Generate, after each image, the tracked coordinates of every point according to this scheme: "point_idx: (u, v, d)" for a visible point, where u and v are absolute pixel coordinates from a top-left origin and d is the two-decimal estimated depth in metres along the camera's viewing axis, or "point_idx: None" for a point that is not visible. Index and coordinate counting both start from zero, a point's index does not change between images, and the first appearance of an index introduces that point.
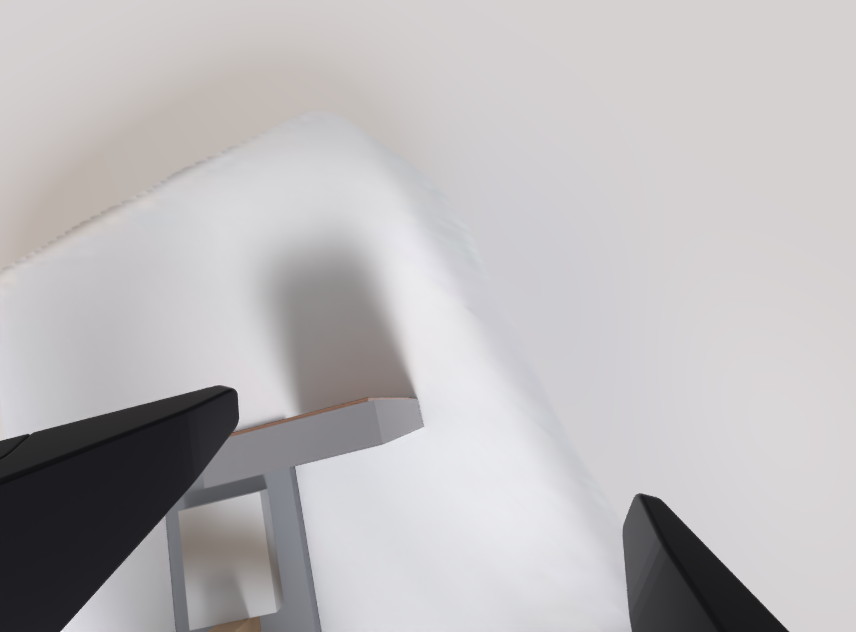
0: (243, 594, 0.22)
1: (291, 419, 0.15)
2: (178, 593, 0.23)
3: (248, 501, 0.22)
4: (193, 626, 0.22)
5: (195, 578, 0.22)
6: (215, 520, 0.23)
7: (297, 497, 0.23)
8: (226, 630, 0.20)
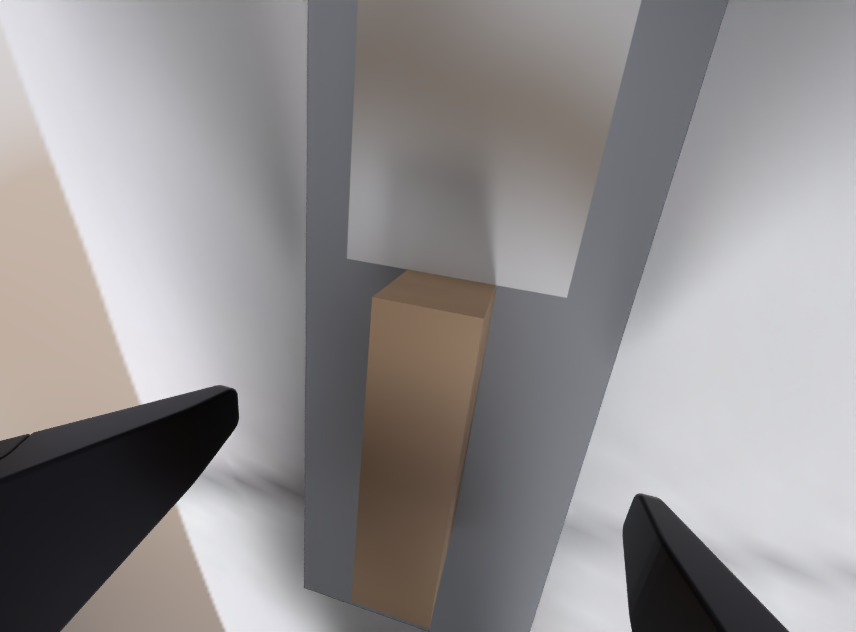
0: (495, 230, 0.08)
1: None
2: (320, 177, 0.10)
3: None
4: (357, 253, 0.09)
5: (379, 150, 0.09)
6: None
7: (711, 33, 0.08)
8: (456, 291, 0.08)
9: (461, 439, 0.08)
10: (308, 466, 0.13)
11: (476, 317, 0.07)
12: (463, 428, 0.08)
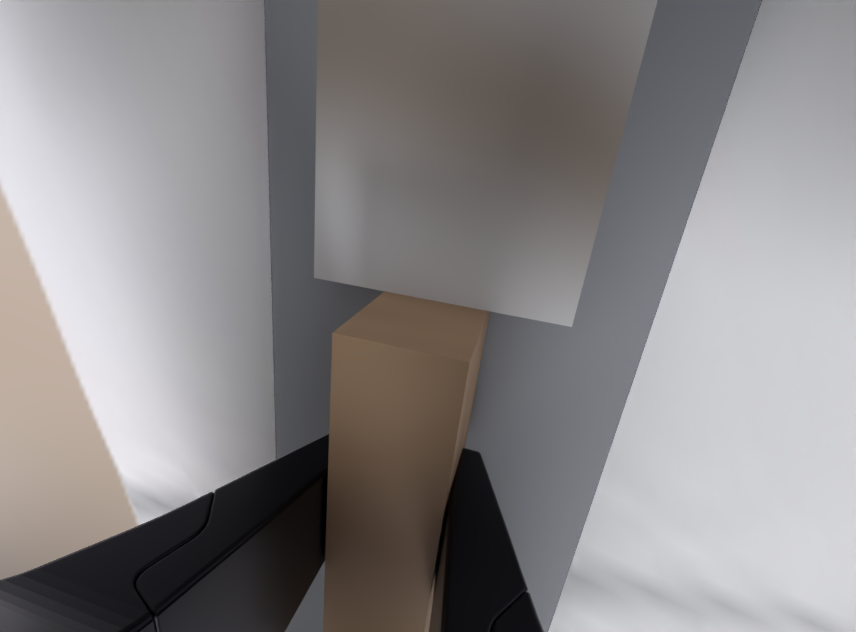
0: (487, 247, 0.07)
1: None
2: (284, 182, 0.09)
3: None
4: (325, 272, 0.08)
5: (348, 150, 0.07)
6: None
7: (749, 9, 0.06)
8: (439, 320, 0.07)
9: (444, 503, 0.06)
10: None
11: (460, 359, 0.06)
12: (446, 490, 0.06)
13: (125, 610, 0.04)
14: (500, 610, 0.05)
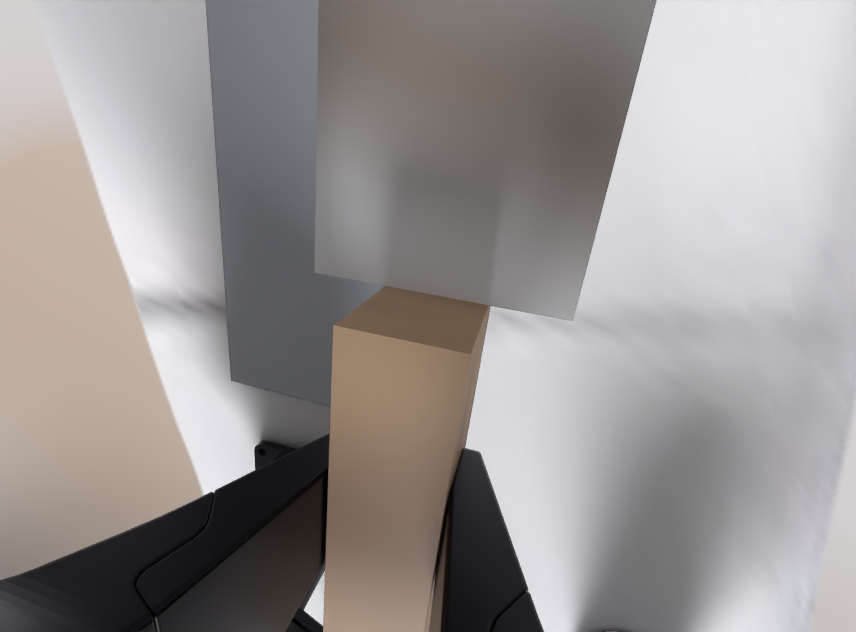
0: (488, 241, 0.07)
1: None
2: (218, 71, 0.17)
3: None
4: (326, 267, 0.08)
5: (349, 145, 0.07)
6: None
7: None
8: (440, 314, 0.07)
9: (445, 496, 0.06)
10: (226, 278, 0.20)
11: (461, 352, 0.05)
12: (447, 483, 0.06)
13: (125, 610, 0.04)
14: (500, 610, 0.05)
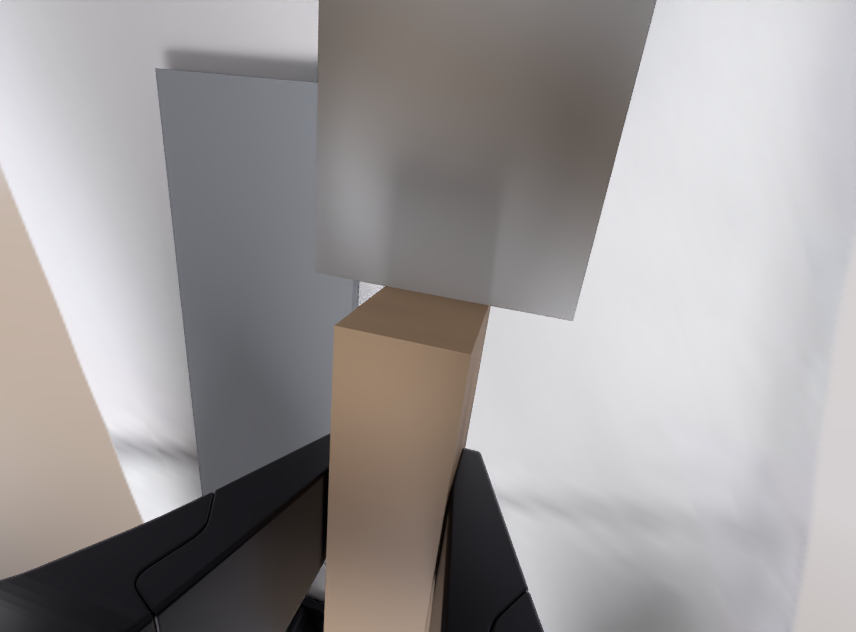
0: (488, 241, 0.07)
1: None
2: (184, 267, 0.17)
3: None
4: (326, 267, 0.08)
5: (349, 146, 0.07)
6: None
7: None
8: (440, 314, 0.07)
9: (445, 496, 0.06)
10: (198, 438, 0.20)
11: (462, 352, 0.06)
12: (447, 483, 0.06)
13: (125, 610, 0.04)
14: (500, 610, 0.05)
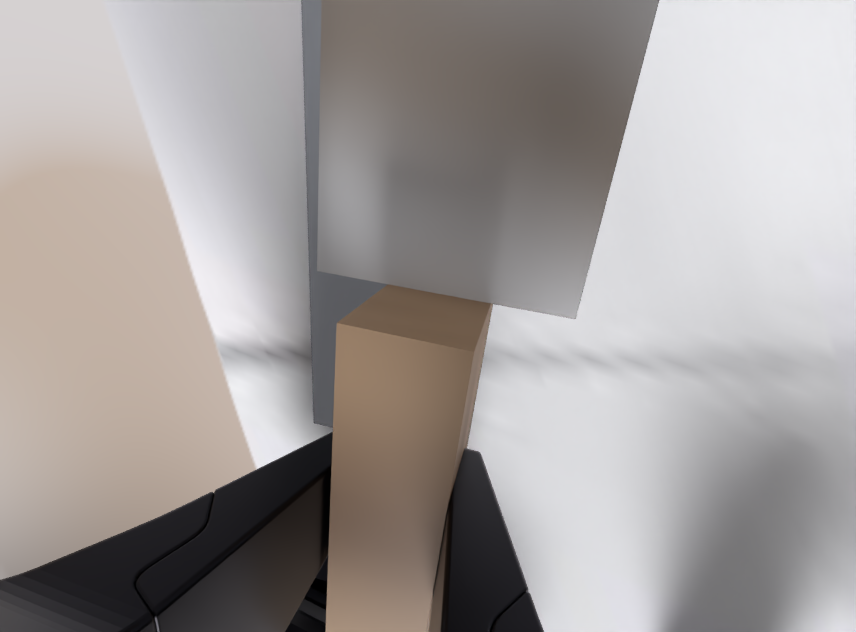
0: (490, 239, 0.07)
1: None
2: (313, 142, 0.18)
3: None
4: (328, 265, 0.08)
5: (351, 143, 0.07)
6: None
7: None
8: (443, 312, 0.07)
9: (448, 494, 0.06)
10: (313, 329, 0.21)
11: (465, 349, 0.06)
12: (450, 481, 0.06)
13: (126, 610, 0.04)
14: (500, 610, 0.05)
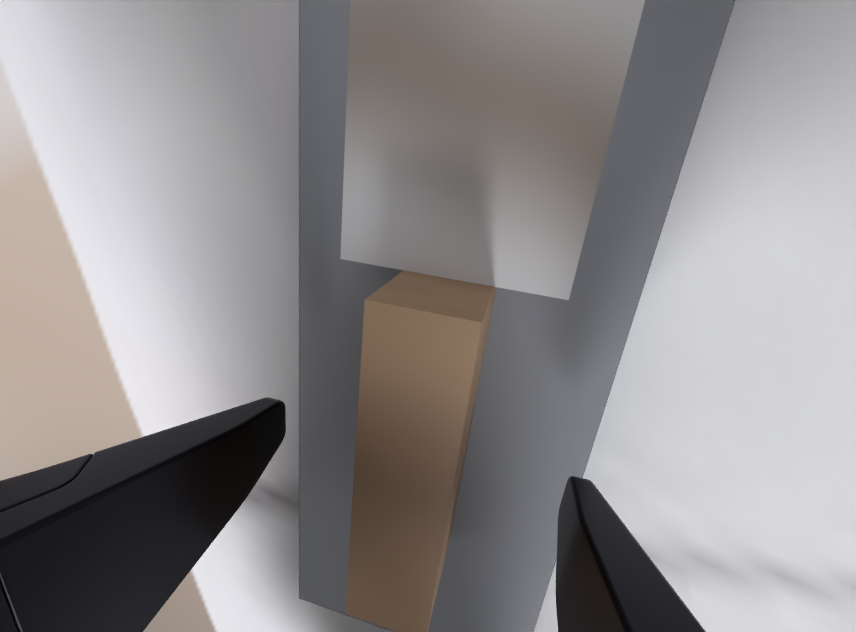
0: (494, 230, 0.08)
1: None
2: (313, 180, 0.10)
3: None
4: (351, 254, 0.09)
5: (373, 146, 0.08)
6: None
7: (717, 32, 0.07)
8: (453, 293, 0.08)
9: (458, 448, 0.07)
10: (302, 475, 0.13)
11: (474, 320, 0.07)
12: (460, 437, 0.07)
13: None
14: None
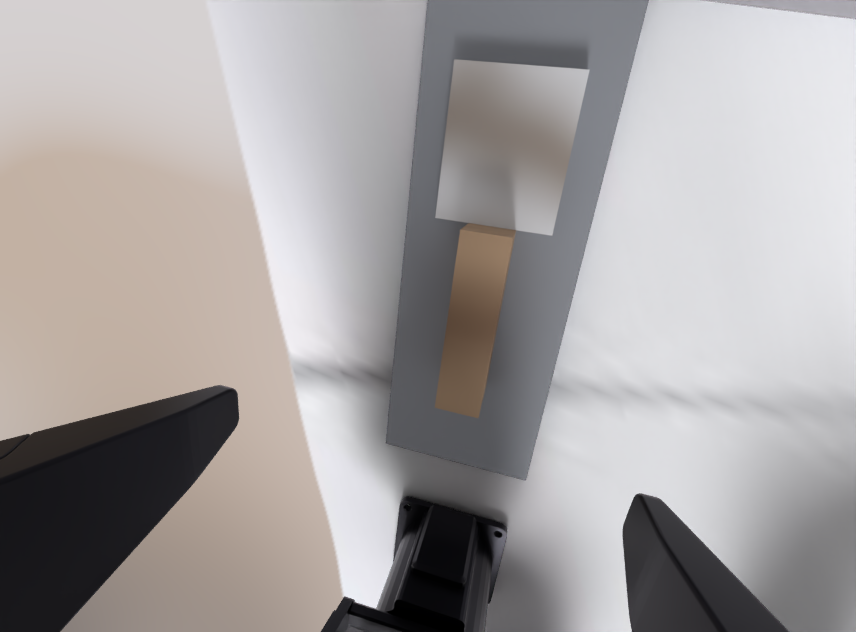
0: (516, 201, 0.17)
1: None
2: (418, 177, 0.18)
3: (567, 79, 0.15)
4: (441, 215, 0.18)
5: (457, 160, 0.17)
6: (507, 91, 0.16)
7: (619, 109, 0.16)
8: (497, 230, 0.16)
9: (500, 300, 0.16)
10: (396, 354, 0.21)
11: (509, 237, 0.15)
12: (501, 295, 0.16)
13: None
14: None
